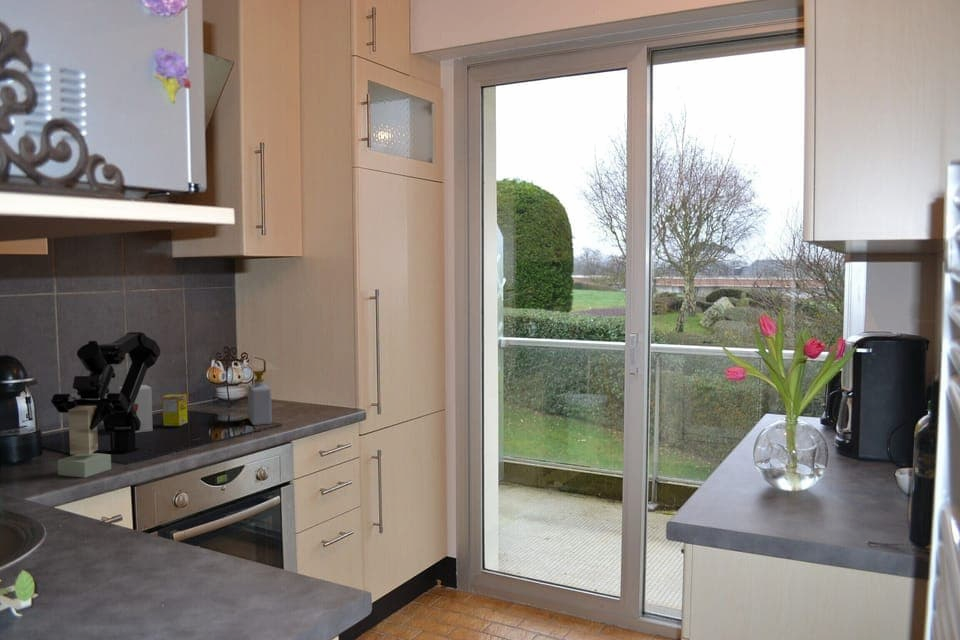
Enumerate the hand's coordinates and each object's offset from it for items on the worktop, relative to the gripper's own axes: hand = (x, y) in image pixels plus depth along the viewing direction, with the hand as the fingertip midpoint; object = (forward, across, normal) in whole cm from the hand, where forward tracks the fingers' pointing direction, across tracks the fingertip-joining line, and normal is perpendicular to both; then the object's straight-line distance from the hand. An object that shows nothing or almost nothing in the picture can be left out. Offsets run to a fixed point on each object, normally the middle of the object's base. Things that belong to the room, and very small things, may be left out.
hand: (80, 428), depth 202 cm
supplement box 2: (-30, -8, +48) cm, 57 cm away
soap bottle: (-39, +30, +56) cm, 75 cm away
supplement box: (-35, +3, +52) cm, 63 cm away
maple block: (+4, 0, +6) cm, 7 cm away
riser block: (+8, 0, +9) cm, 12 cm away
